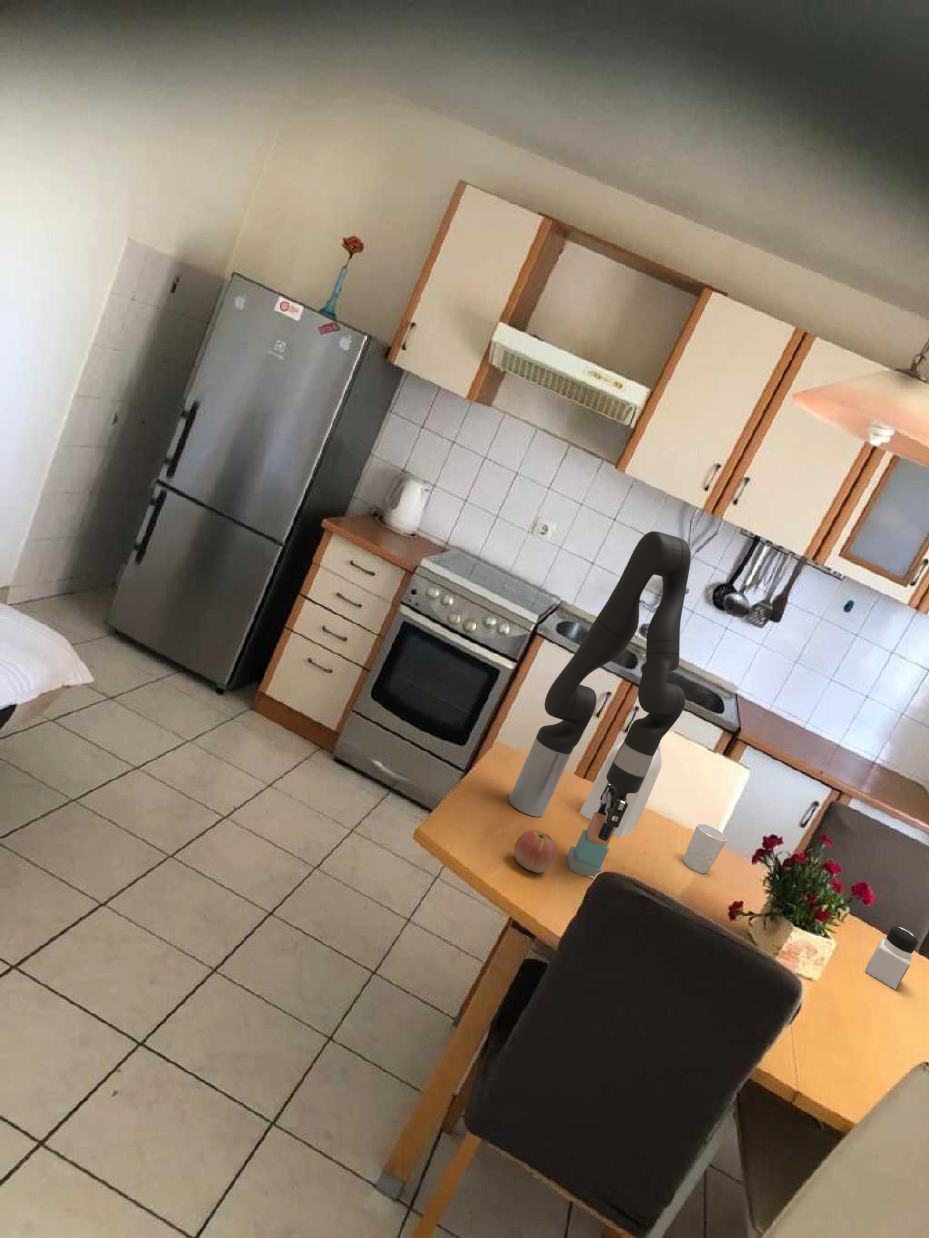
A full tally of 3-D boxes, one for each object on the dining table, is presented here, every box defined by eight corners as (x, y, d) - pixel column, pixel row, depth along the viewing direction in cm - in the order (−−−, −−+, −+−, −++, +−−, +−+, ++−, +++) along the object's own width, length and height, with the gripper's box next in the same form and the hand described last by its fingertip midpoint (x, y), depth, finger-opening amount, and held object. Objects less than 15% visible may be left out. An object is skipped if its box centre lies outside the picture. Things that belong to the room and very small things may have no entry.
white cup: (712, 869, 243) (729, 835, 241) (707, 878, 235) (724, 844, 233) (683, 853, 245) (700, 820, 243) (677, 862, 238) (695, 828, 236)
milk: (635, 829, 248) (677, 741, 243) (619, 837, 238) (663, 746, 233) (596, 805, 254) (636, 718, 248) (579, 812, 244) (620, 722, 238)
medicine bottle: (895, 990, 216) (920, 946, 213) (864, 972, 219) (889, 928, 217) (898, 980, 222) (923, 937, 220) (868, 962, 225) (892, 919, 223)
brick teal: (574, 848, 214) (583, 829, 213) (597, 857, 215) (606, 838, 214) (576, 859, 209) (585, 840, 208) (599, 868, 209) (609, 849, 208)
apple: (545, 884, 198) (560, 851, 196) (506, 865, 199) (521, 832, 197) (549, 867, 206) (564, 835, 205) (511, 849, 207) (526, 817, 205)
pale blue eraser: (566, 855, 216) (571, 845, 215) (595, 866, 216) (600, 857, 215) (569, 869, 209) (573, 859, 208) (598, 881, 209) (603, 871, 209)
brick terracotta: (585, 830, 213) (594, 811, 212) (604, 838, 213) (613, 818, 212) (587, 839, 209) (597, 819, 208) (606, 847, 209) (616, 827, 208)
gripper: (651, 785, 200) (619, 851, 204) (641, 761, 214) (612, 823, 218) (618, 771, 200) (587, 838, 203) (610, 748, 214) (581, 811, 217)
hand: (600, 830), depth 210 cm, fingers open, 8 cm apart
